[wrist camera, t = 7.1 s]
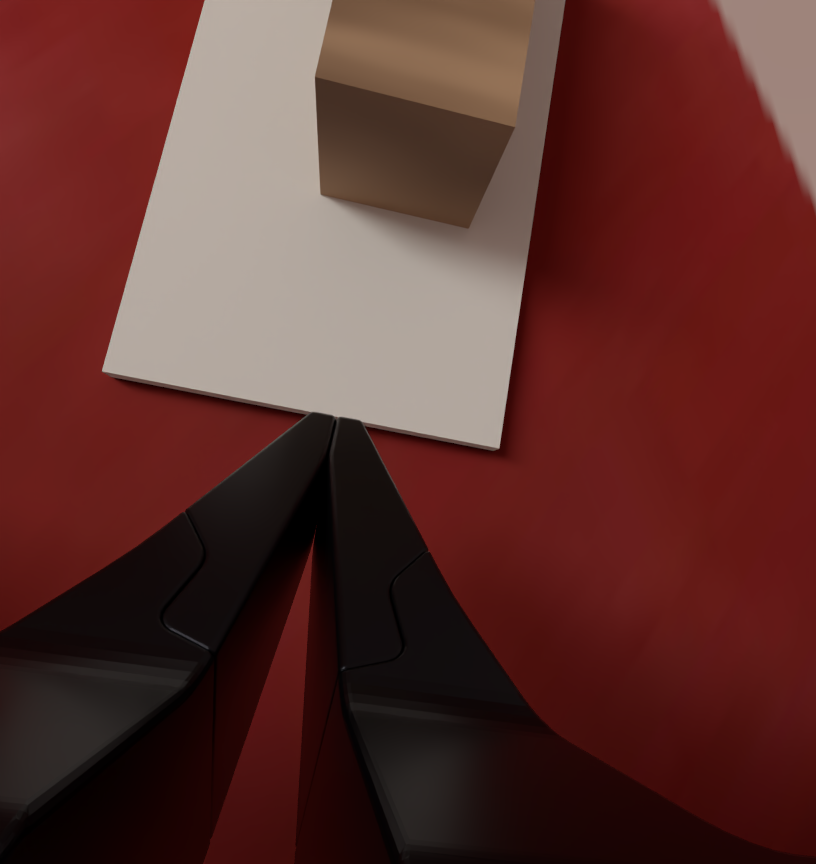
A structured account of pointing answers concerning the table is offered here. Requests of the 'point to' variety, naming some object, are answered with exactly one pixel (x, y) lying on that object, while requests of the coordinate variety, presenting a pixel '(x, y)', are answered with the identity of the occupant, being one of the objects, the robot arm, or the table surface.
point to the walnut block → (419, 101)
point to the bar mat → (322, 249)
